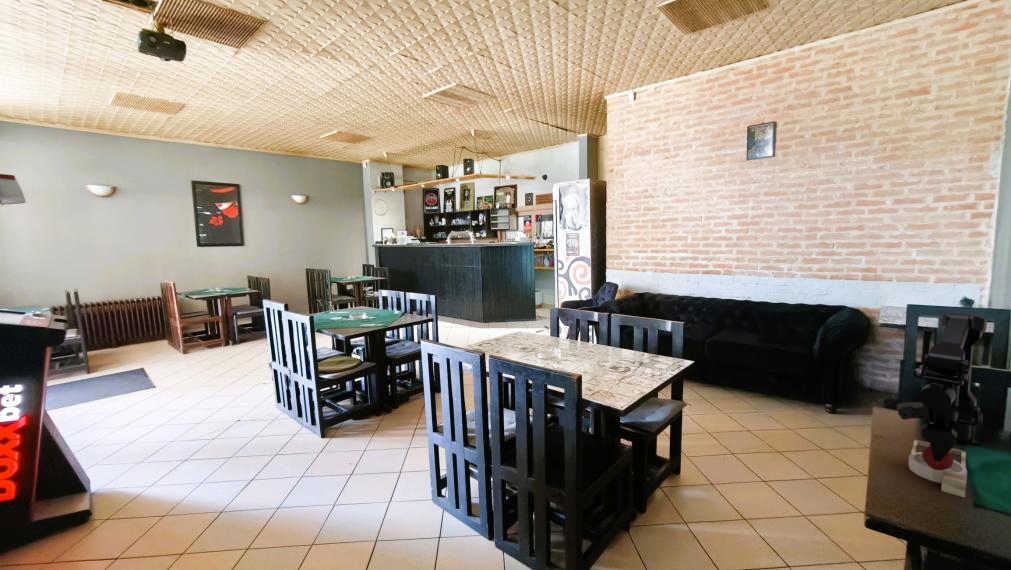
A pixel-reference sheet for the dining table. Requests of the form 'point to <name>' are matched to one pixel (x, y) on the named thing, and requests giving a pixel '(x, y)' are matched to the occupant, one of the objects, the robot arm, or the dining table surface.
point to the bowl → (929, 473)
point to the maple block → (953, 483)
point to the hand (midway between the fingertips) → (937, 454)
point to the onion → (937, 465)
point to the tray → (954, 451)
